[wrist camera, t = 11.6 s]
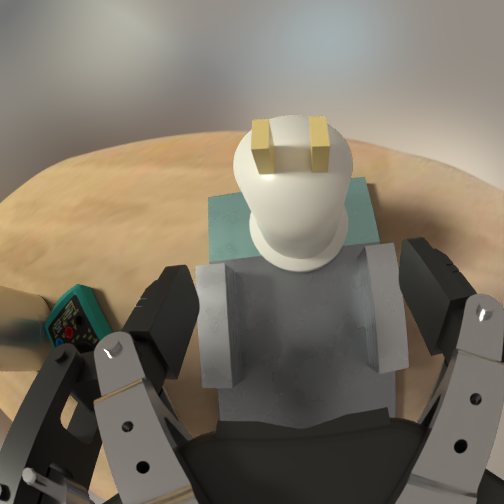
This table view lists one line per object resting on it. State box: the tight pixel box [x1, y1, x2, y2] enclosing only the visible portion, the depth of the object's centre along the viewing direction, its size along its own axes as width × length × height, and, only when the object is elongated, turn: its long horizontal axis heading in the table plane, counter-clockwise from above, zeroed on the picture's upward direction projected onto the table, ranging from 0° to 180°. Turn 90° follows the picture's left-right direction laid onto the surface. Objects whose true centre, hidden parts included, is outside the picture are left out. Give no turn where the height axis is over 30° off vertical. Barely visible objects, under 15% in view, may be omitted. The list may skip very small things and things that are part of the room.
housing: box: [195, 177, 409, 429], centre depth 18 cm, size 13×22×4 cm, turn 4°
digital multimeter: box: [45, 284, 113, 354], centre depth 21 cm, size 7×15×3 cm, turn 41°
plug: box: [233, 115, 353, 273], centre depth 16 cm, size 7×7×11 cm
